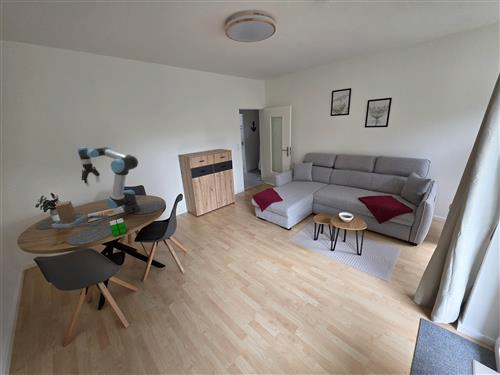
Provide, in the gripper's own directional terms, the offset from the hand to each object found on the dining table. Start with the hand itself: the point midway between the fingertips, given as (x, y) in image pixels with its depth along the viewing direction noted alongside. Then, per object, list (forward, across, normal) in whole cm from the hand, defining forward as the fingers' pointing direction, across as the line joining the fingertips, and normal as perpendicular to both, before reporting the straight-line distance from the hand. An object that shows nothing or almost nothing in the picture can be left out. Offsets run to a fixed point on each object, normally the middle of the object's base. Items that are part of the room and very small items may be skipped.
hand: (93, 184), depth 199 cm
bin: (+33, +20, -18) cm, 42 cm away
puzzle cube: (+33, +40, +45) cm, 69 cm away
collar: (+33, +18, +4) cm, 38 cm away
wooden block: (+32, +20, -18) cm, 41 cm away
